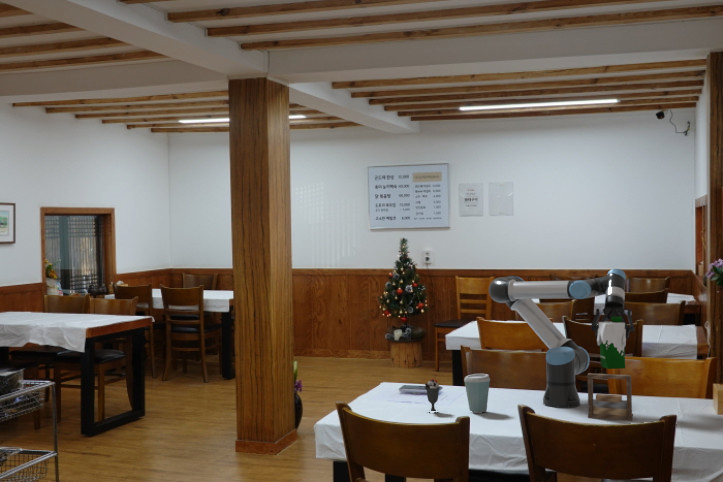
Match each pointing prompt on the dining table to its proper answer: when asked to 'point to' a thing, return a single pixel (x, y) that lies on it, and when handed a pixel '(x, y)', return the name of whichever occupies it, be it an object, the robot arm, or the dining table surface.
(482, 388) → the disposable coffee cup
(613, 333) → the soya milk
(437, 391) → the sundae
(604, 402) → the offcut rack
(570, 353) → the robot arm
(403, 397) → the dining table surface
